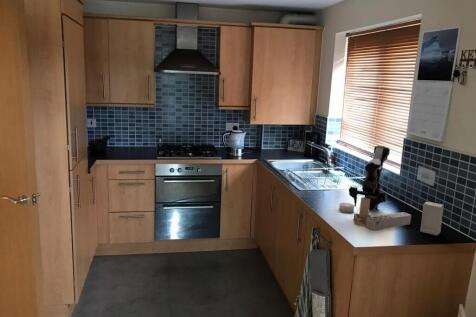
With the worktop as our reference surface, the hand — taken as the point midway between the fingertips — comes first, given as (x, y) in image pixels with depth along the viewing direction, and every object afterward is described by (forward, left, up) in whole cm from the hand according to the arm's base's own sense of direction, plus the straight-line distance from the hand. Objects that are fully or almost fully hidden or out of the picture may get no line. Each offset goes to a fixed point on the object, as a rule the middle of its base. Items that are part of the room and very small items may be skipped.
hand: (364, 208), depth 211 cm
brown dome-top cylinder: (0, -1, -7) cm, 7 cm away
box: (-13, -1, -9) cm, 16 cm away
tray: (0, -1, -8) cm, 8 cm away
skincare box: (-32, +3, -8) cm, 34 cm away
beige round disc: (+7, -18, -8) cm, 21 cm away
